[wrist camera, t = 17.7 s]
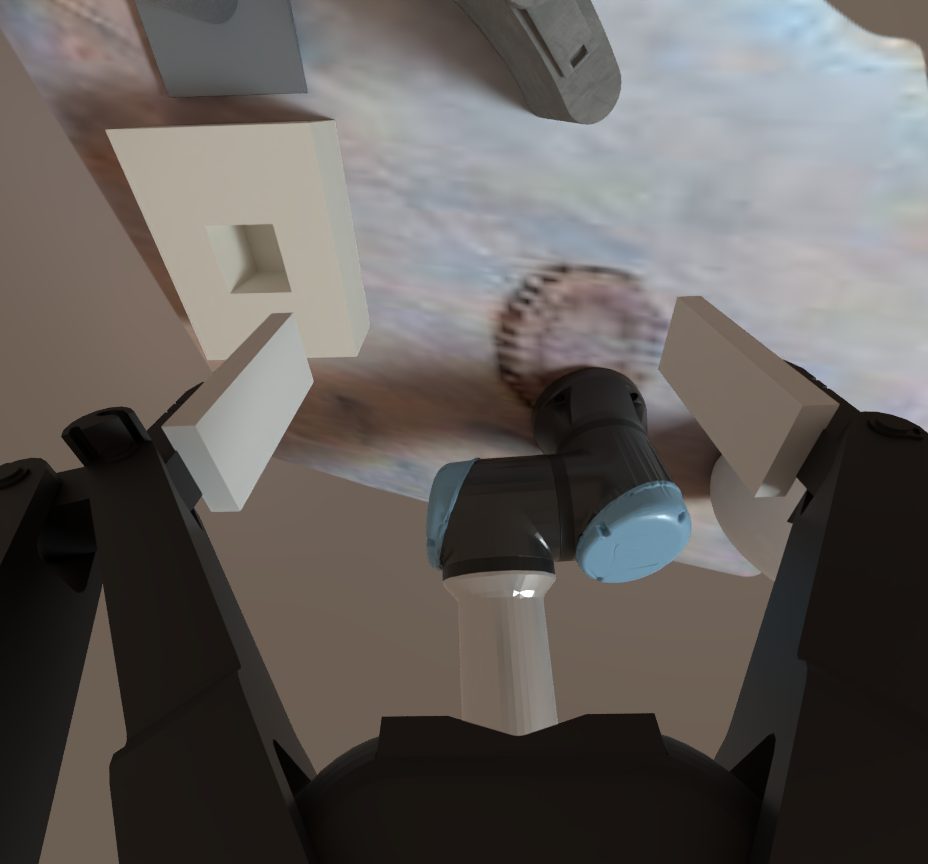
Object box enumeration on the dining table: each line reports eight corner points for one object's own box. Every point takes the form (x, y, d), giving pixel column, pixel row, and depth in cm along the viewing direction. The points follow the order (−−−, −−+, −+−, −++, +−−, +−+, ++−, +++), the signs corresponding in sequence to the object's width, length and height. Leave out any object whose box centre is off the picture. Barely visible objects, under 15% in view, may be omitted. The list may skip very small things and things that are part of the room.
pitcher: (674, 495, 69) (773, 678, 47) (726, 411, 59) (884, 594, 37) (810, 508, 71) (967, 690, 49) (884, 428, 60) (1124, 614, 38)
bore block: (370, 325, 51) (356, 356, 45) (239, 328, 51) (207, 360, 45) (334, 120, 39) (309, 122, 32) (163, 125, 39) (104, 129, 33)
